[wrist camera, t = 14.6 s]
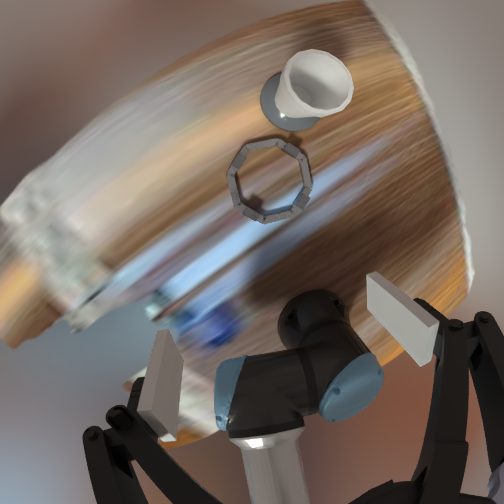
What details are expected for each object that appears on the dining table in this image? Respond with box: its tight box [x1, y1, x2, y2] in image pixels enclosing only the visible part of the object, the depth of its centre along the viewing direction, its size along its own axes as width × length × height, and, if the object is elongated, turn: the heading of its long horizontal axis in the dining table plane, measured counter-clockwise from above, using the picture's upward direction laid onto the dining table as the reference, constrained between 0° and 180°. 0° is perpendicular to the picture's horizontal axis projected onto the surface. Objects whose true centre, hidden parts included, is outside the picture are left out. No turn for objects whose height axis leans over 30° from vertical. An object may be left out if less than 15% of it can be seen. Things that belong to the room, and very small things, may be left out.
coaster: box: [260, 73, 320, 131], centre depth 40 cm, size 11×11×1 cm
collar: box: [226, 138, 312, 224], centre depth 44 cm, size 14×14×2 cm
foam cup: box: [275, 49, 354, 118], centre depth 34 cm, size 10×9×13 cm
